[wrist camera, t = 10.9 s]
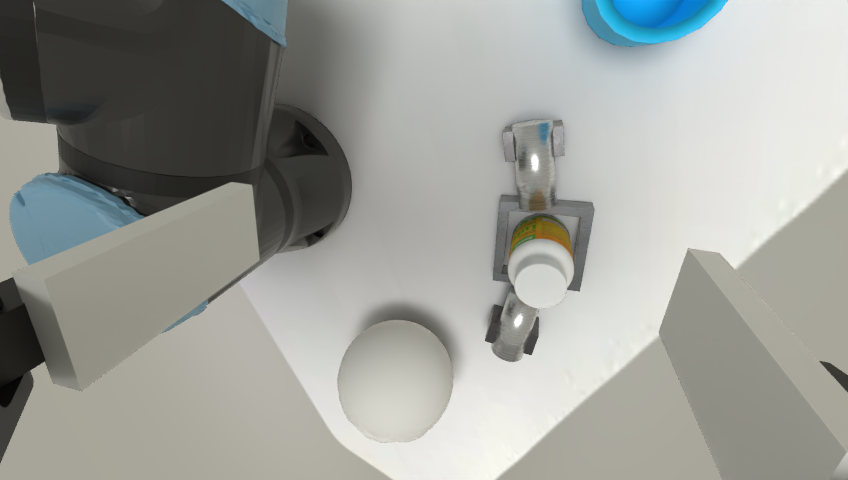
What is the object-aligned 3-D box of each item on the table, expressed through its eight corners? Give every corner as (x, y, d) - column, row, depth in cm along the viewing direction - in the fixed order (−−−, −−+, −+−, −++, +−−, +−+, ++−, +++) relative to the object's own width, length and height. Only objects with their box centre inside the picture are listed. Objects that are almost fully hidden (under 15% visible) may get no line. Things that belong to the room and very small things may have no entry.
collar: (494, 271, 44) (492, 280, 42) (501, 194, 41) (499, 201, 39) (578, 281, 42) (579, 291, 41) (592, 202, 39) (594, 209, 37)
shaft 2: (504, 271, 44) (500, 294, 40) (550, 284, 43) (551, 310, 39) (487, 326, 47) (481, 353, 43) (530, 339, 46) (529, 368, 42)
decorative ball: (357, 365, 54) (312, 441, 43) (372, 286, 49) (324, 350, 38) (448, 397, 52) (424, 484, 42) (473, 318, 47) (453, 395, 36)
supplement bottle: (532, 202, 41) (529, 242, 32) (581, 231, 41) (592, 279, 32) (502, 245, 43) (491, 293, 34) (548, 273, 43) (549, 328, 34)
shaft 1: (564, 192, 39) (567, 208, 35) (511, 196, 41) (508, 212, 37) (561, 114, 37) (564, 121, 33) (505, 121, 38) (500, 129, 34)
